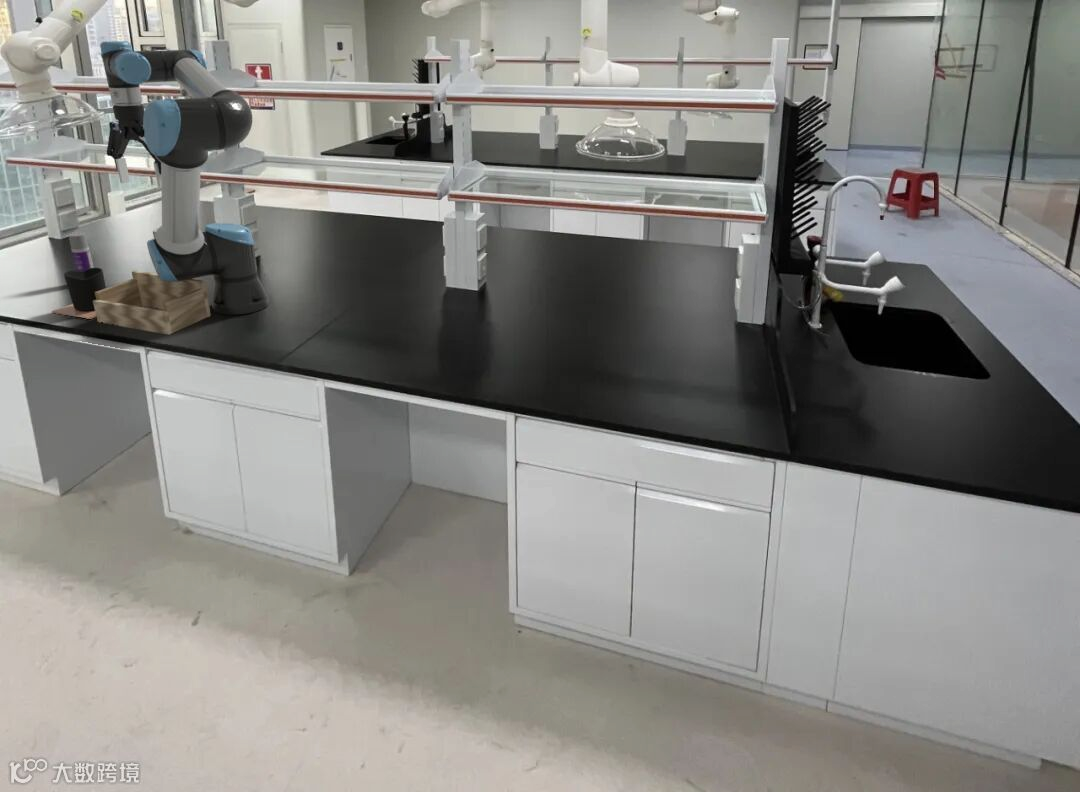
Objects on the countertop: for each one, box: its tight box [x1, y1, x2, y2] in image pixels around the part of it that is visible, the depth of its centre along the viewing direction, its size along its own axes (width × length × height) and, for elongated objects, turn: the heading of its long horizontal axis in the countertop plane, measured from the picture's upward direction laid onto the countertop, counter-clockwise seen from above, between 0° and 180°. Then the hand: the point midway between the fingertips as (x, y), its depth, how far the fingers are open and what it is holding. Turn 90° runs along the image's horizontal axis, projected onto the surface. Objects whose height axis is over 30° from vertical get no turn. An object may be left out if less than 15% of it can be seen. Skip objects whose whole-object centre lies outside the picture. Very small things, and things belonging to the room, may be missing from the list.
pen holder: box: [63, 267, 107, 311], centre depth 223 cm, size 9×9×10 cm
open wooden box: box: [93, 270, 212, 335], centre depth 217 cm, size 24×15×10 cm, turn 69°
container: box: [68, 232, 95, 271], centre depth 244 cm, size 5×5×15 cm
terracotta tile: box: [51, 303, 97, 320], centre depth 226 cm, size 14×14×1 cm
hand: (144, 184), depth 225 cm, fingers open, 13 cm apart
